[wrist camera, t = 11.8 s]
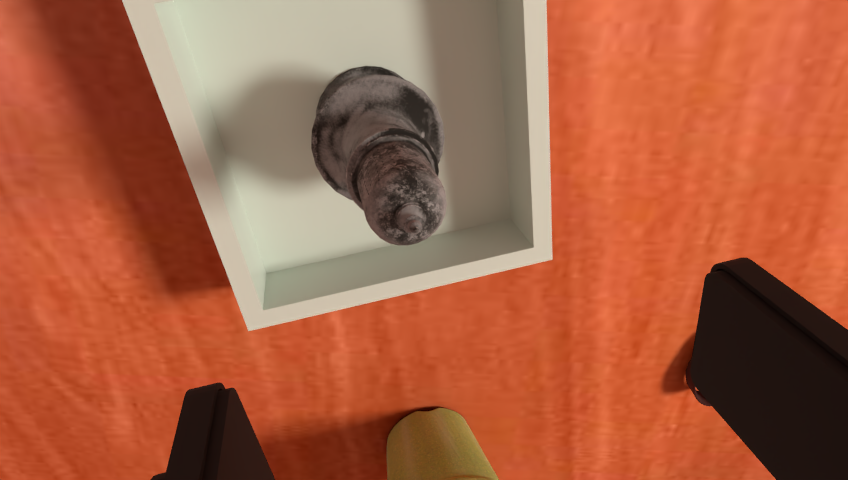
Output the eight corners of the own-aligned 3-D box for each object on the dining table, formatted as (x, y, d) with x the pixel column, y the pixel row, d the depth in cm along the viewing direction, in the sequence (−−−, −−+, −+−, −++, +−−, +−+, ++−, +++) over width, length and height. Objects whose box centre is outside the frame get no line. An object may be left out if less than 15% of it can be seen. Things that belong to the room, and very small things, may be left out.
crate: (144, -28, 23) (113, -22, 19) (505, -86, 25) (544, -91, 21) (254, 282, 31) (248, 331, 27) (522, 222, 33) (552, 259, 29)
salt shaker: (300, 166, 27) (304, 302, 17) (319, 46, 25) (337, 119, 14) (412, 184, 29) (478, 317, 19) (440, 73, 26) (534, 156, 16)
